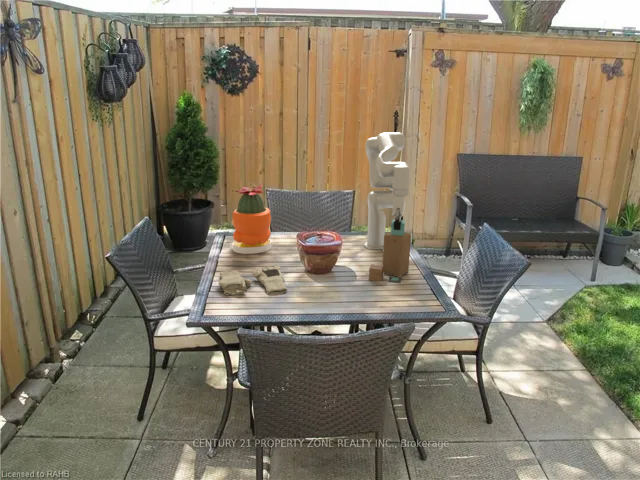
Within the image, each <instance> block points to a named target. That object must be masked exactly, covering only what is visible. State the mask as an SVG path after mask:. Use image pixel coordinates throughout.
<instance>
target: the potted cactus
mask: <svg viewBox="0 0 640 480" xmlns="http://www.w3.org/2000/svg"><path fill="white" fill-rule="evenodd" d="M263 186H264V184H260V185H258V186H256V187H255V188H254V187H253V186H251V187H250V186H243V187H239V189H240V190H235V193H239V194H240V197H239V199H238V200H237V205H236V208H235V210H234V211H232V220H231V225H232V226H233V227H234V229H235V230H234V232H233V234H232V237H233V240H234V241H233V242H232V244H231V245H232V246H231V247H232V251H233V252H234V253H238V254H244V255H247V254H258V253H260V254H261V253H264V252H267V251H269V250H271V249H272V240H271V239H270V237H271V236H272V233H271V229H270V228H271V224H272V223H271V221H272V215H271V214H272V213H271V210H270V208H269V207H265V201H264V199H263V197H262V194H263V193H264V191H263V190H262V187H263Z"/></svg>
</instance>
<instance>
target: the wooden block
mask: <svg viewBox="0 0 640 480" xmlns="http://www.w3.org/2000/svg"><path fill="white" fill-rule="evenodd" d="M411 240H412V234H411V233H410V232H406V231H405V233H404V236H399V235H391V231H389V232H385V235H384V246H383V249H382V250H383V251H382V264H381V265H384V270H383V274H387V275H391V276H392V277H400V278H401V277H402V276H403V275H405V274H407V273H408V272H409V268H410V267H409V266H410V255H411V254H410V252H411V242H412V241H411Z"/></svg>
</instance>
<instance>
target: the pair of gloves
mask: <svg viewBox="0 0 640 480" xmlns="http://www.w3.org/2000/svg"><path fill="white" fill-rule="evenodd" d="M219 275H220V276H219V277H220V278H221V279H220V280H219V282H218V286H219V287H221V288H222V290H223V295H226V296H229V295H231V296H232V297H236V296H238V295H243V294H244V293H247V292H248V290H247V288H251V286H252V285H253V281H252V280H251V279H249V278H245V277H243V276H242V275H241V274H240V272H239V271H238V270H233V271H230V270H229V271H228V270H226V271H221V272H219ZM252 275H253V277H254V278H256V279H257V281H259V282H260V283H261V284H262V285H263V286H264V288H265V291H266V293H267V294H268V295H273V294H282V293H283V294H284V293H287V292H288V288H287V287H286V285H285V278H284V276H283V274H282V272H281V265H274V266H272V265H267V266H266V268H261V269H255V270H254V271H253V273H252Z"/></svg>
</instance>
